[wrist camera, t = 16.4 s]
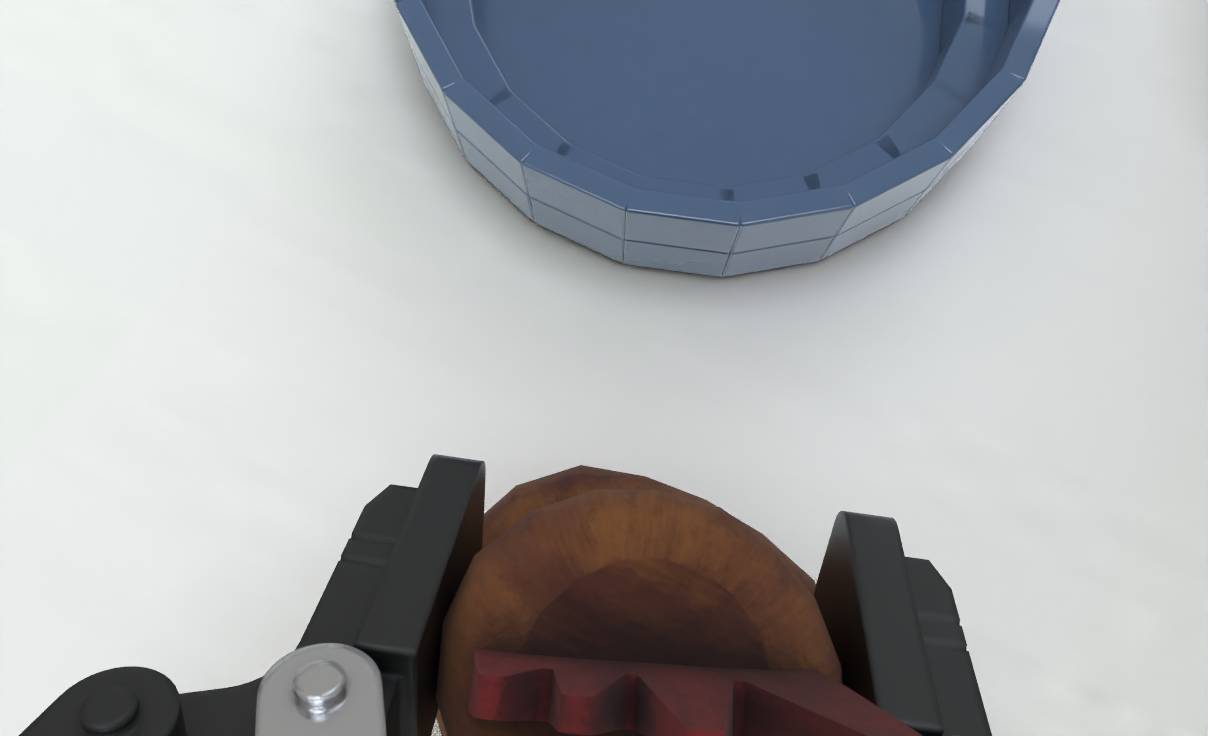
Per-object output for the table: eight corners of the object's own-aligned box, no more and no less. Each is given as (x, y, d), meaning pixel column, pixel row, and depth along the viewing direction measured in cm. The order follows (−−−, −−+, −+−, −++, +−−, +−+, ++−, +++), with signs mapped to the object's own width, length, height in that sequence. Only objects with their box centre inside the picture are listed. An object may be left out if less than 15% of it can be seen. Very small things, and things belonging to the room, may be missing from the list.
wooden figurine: (823, 590, 21) (1283, 581, 7) (712, 846, 20) (977, 1500, 6) (548, 454, 22) (428, 180, 8) (425, 694, 21) (0, 922, 6)
